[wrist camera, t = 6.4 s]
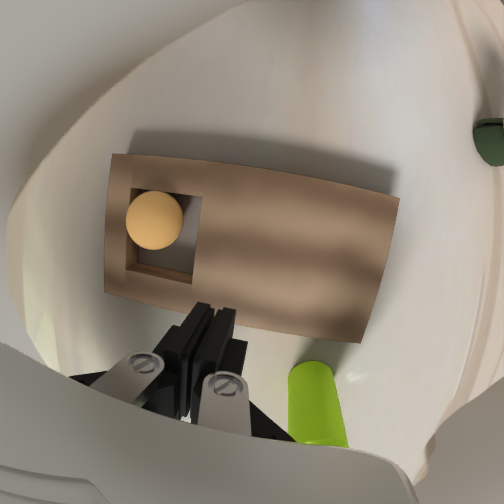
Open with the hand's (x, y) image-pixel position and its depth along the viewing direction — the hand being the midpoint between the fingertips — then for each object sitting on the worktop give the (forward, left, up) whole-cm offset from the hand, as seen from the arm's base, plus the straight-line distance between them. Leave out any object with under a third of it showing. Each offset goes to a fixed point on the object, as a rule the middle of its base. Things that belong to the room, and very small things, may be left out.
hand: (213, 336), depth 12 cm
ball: (+2, +10, -16) cm, 19 cm away
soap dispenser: (-16, -9, -19) cm, 27 cm away
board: (0, +2, -19) cm, 19 cm away
